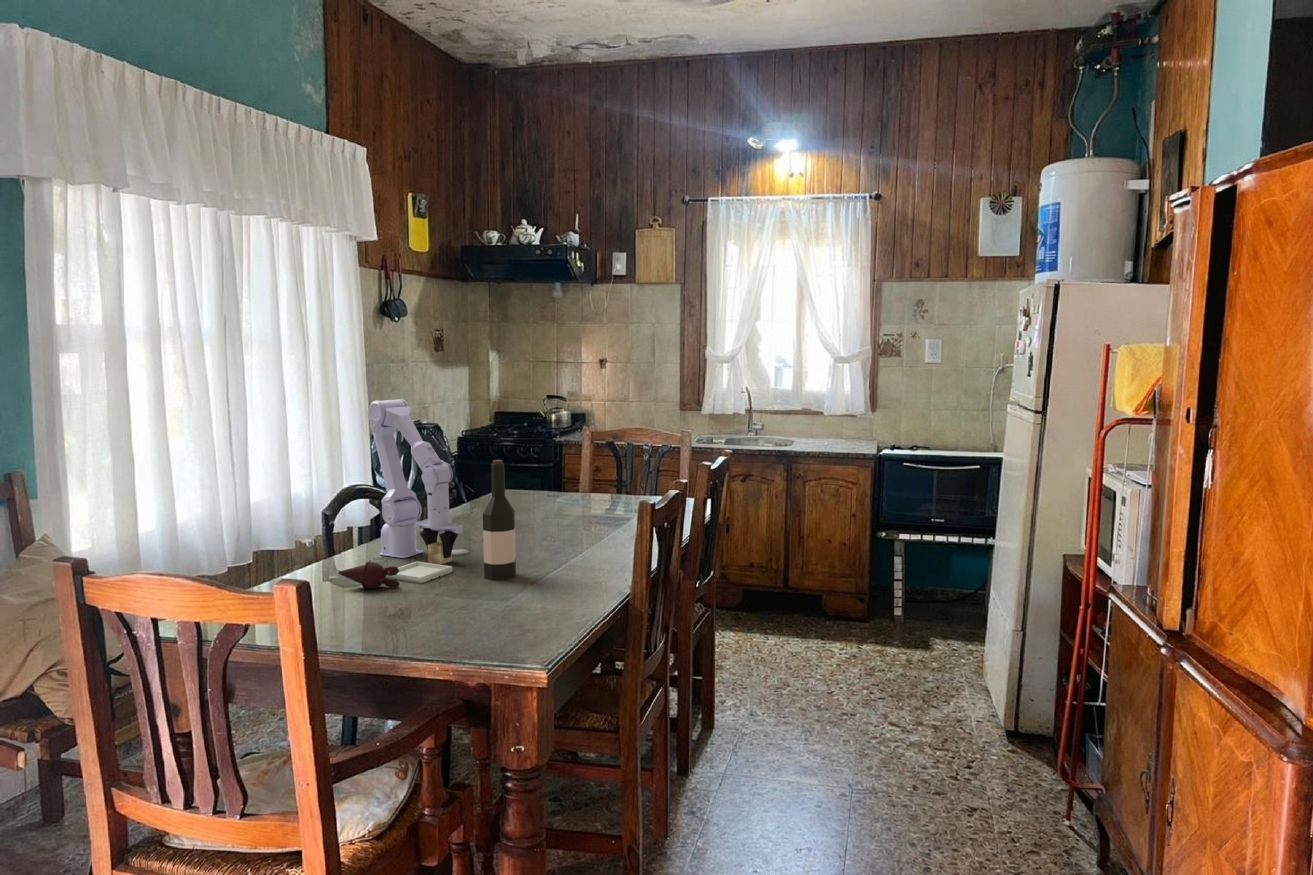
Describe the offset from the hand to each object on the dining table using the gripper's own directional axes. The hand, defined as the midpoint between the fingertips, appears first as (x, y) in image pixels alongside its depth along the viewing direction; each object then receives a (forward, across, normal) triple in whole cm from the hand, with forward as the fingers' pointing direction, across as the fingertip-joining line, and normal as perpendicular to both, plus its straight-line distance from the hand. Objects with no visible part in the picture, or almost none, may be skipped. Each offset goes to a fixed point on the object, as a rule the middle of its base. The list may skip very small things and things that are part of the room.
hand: (440, 556), depth 236 cm
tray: (+1, -4, +13) cm, 14 cm away
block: (+1, 0, 0) cm, 1 cm away
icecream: (+2, -1, +28) cm, 28 cm away
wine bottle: (+2, -24, +5) cm, 25 cm away
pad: (+1, +2, -10) cm, 10 cm away
